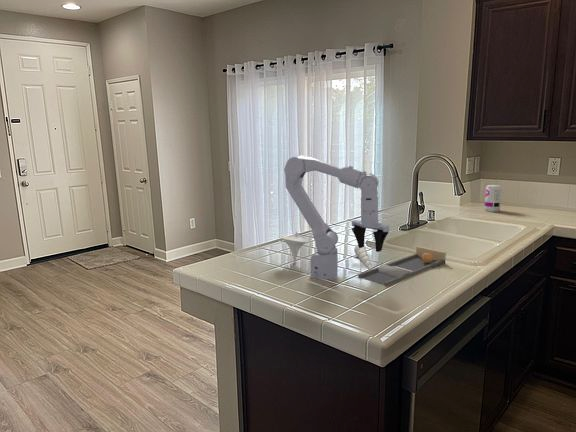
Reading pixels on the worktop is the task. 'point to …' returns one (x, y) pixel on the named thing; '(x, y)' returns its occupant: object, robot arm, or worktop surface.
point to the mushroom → (294, 243)
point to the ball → (427, 258)
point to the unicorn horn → (363, 256)
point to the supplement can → (492, 198)
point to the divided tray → (404, 267)
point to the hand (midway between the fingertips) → (369, 249)
